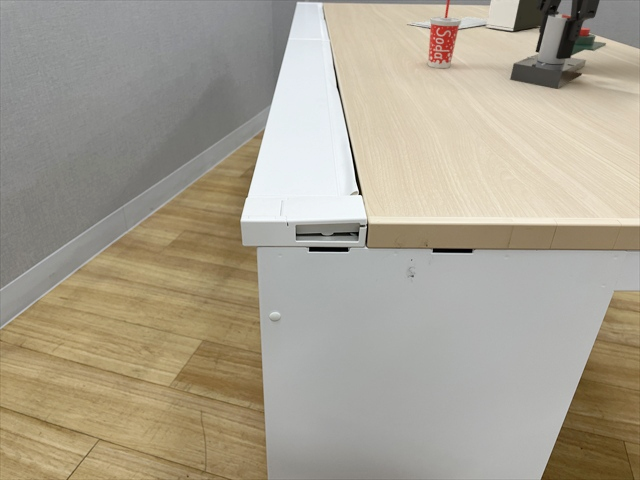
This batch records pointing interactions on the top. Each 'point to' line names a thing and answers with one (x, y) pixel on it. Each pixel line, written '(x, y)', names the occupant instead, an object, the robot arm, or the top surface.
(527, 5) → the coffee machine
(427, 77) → the top surface
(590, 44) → the button box
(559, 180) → the top surface
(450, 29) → the beverage cup
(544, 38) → the light grey cylinder
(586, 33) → the stop button
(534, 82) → the tap block
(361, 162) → the top surface
